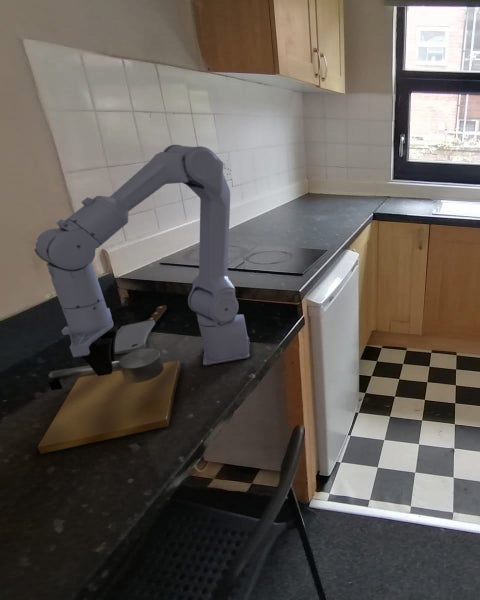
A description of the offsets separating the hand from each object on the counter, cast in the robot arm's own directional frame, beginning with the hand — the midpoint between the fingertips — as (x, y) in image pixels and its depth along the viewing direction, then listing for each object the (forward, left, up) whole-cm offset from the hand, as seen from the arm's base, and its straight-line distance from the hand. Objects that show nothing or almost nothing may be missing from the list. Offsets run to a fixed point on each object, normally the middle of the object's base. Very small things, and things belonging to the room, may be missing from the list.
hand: (106, 371), depth 72 cm
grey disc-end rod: (0, 0, -2) cm, 2 cm away
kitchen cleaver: (+2, -32, -8) cm, 33 cm away
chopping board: (-1, 0, -7) cm, 7 cm away
